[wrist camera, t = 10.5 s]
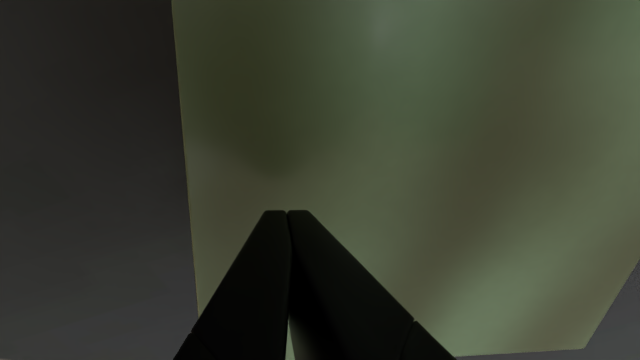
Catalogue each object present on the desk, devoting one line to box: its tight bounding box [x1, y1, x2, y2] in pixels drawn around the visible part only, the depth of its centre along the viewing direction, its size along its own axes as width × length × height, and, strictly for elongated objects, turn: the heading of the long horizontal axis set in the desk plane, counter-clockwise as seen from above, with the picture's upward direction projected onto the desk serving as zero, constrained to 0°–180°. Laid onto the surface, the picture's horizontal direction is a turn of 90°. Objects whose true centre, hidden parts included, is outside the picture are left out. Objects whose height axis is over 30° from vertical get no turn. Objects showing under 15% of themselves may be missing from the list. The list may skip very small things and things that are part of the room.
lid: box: [171, 0, 640, 360], centre depth 10 cm, size 12×13×1 cm
